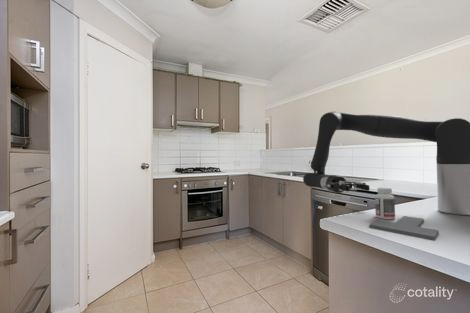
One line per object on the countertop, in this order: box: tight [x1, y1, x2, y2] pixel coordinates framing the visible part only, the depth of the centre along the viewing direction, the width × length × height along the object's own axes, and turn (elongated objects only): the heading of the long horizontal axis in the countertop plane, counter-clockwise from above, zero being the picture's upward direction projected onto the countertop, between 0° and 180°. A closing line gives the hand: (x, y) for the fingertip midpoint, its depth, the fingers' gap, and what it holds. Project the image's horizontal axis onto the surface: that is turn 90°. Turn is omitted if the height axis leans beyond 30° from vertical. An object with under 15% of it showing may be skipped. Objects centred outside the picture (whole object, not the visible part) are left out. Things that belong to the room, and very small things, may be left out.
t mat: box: [368, 215, 440, 241], centre depth 64 cm, size 18×14×1 cm
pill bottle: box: [374, 187, 396, 220], centre depth 73 cm, size 5×5×10 cm
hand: (358, 188), depth 84 cm, fingers open, 8 cm apart
